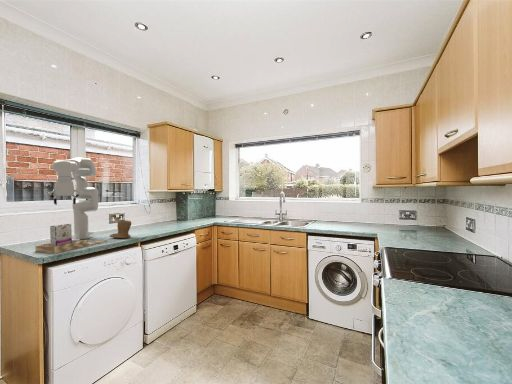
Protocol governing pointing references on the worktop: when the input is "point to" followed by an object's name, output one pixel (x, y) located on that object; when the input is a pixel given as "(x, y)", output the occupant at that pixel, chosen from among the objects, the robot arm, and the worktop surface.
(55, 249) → the wooden compartment tray
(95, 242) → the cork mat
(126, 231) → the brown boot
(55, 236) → the candy bar box
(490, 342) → the worktop surface
